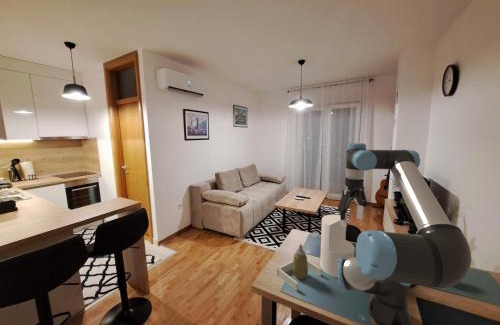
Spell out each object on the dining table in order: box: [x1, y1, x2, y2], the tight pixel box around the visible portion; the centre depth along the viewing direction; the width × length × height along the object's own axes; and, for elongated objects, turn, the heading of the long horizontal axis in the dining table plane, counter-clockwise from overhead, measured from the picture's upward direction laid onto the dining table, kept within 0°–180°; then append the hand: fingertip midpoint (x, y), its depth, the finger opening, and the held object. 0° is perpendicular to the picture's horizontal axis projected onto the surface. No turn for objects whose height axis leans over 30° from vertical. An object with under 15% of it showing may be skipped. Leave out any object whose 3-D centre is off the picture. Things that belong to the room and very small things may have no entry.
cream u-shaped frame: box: [276, 259, 323, 292], centre depth 111 cm, size 14×19×4 cm
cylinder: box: [319, 214, 356, 279], centre depth 115 cm, size 17×17×28 cm
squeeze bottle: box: [292, 243, 309, 280], centre depth 110 cm, size 8×8×18 cm
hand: (351, 222), depth 96 cm, fingers open, 13 cm apart
